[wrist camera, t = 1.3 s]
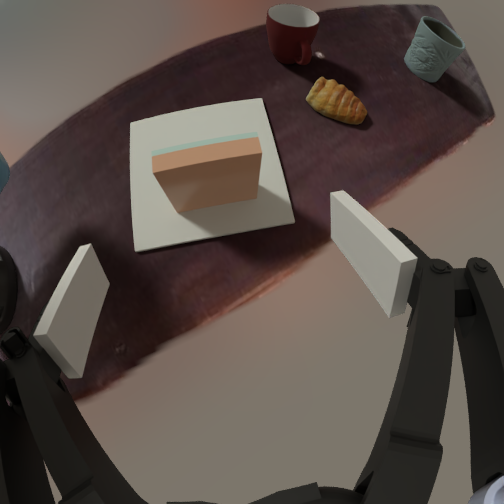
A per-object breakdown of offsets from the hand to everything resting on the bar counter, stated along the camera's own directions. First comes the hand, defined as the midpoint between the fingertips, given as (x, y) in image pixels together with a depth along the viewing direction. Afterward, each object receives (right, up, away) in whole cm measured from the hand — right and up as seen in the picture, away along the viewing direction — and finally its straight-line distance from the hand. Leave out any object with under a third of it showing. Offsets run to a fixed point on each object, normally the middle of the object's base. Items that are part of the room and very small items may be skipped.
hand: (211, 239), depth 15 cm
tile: (-3, +6, +21) cm, 22 cm away
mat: (-4, +11, +23) cm, 25 cm away
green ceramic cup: (+38, +38, +30) cm, 62 cm away
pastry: (+15, +22, +26) cm, 37 cm away
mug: (+9, +32, +28) cm, 43 cm away
